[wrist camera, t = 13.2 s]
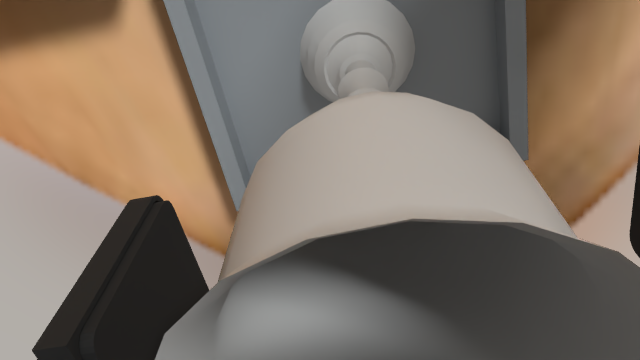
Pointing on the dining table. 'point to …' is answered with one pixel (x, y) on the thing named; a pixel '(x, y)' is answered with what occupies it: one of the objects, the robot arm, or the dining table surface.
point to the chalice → (401, 232)
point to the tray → (302, 100)
